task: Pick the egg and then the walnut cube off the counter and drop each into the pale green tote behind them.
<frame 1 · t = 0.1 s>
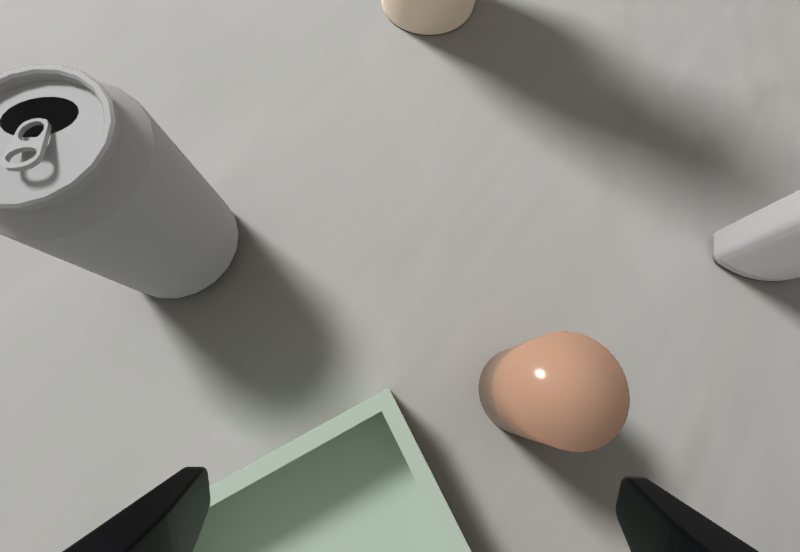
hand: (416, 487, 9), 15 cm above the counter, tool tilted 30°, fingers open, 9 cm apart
water bottle: (434, 5, 33), on the counter
can: (187, 247, 26), on the counter
eye dropper bottle: (747, 257, 27), on the counter
egg: (520, 390, 24), on the counter
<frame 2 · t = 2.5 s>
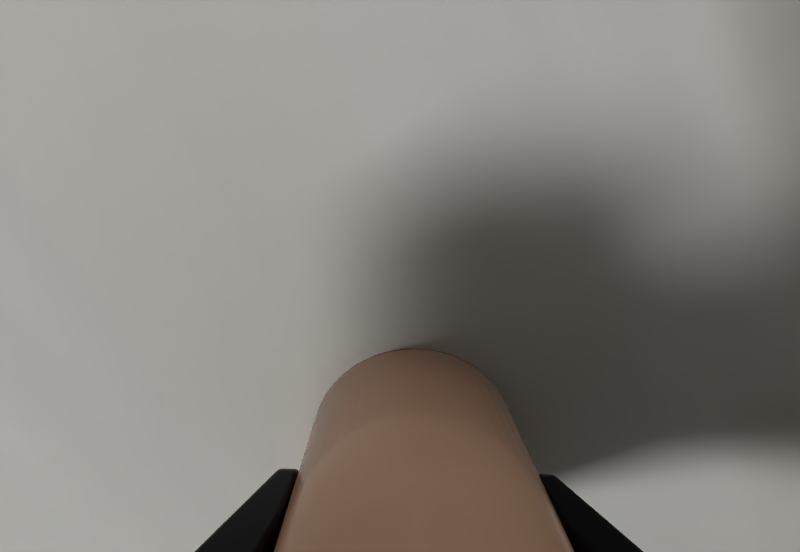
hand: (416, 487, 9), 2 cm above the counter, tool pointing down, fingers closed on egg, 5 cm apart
egg: (412, 439, 10), on the counter, touching gripper
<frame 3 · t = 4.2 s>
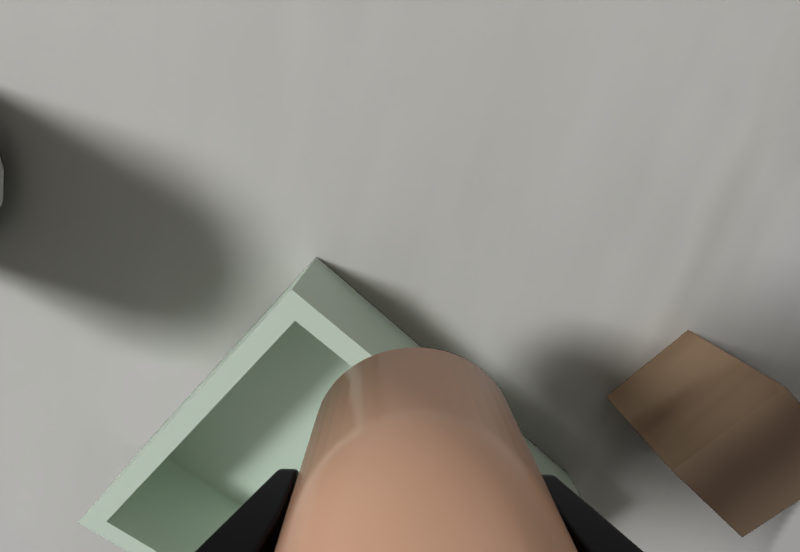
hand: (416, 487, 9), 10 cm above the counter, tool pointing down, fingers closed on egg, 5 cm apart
walnut cube: (674, 393, 20), on the counter
tote: (361, 460, 21), on the counter
egg: (413, 437, 10), point 9 cm above the counter, touching gripper
when the fingers open (5 cm above the counter, at t = 6.0 s): egg drops 3 cm, resting on tote.
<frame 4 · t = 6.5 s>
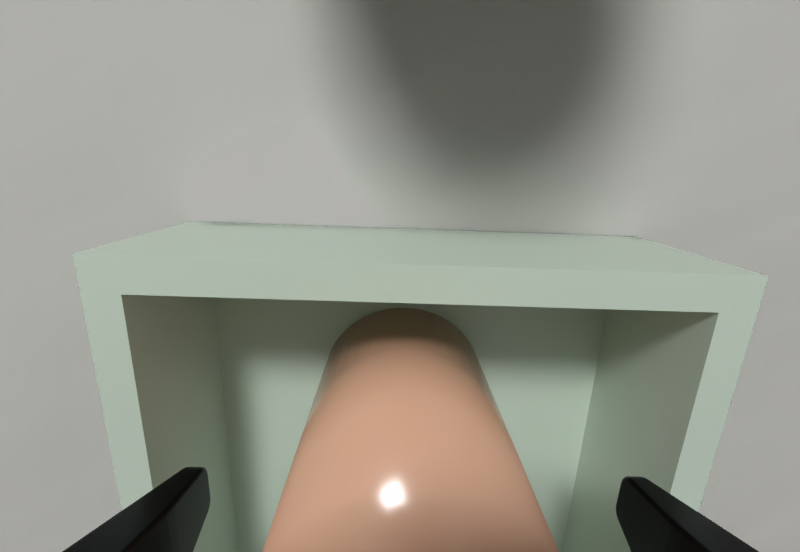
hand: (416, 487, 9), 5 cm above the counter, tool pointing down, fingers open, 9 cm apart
tote: (404, 468, 14), on the counter
egg: (402, 380, 13), point 1 cm above the counter, touching tote
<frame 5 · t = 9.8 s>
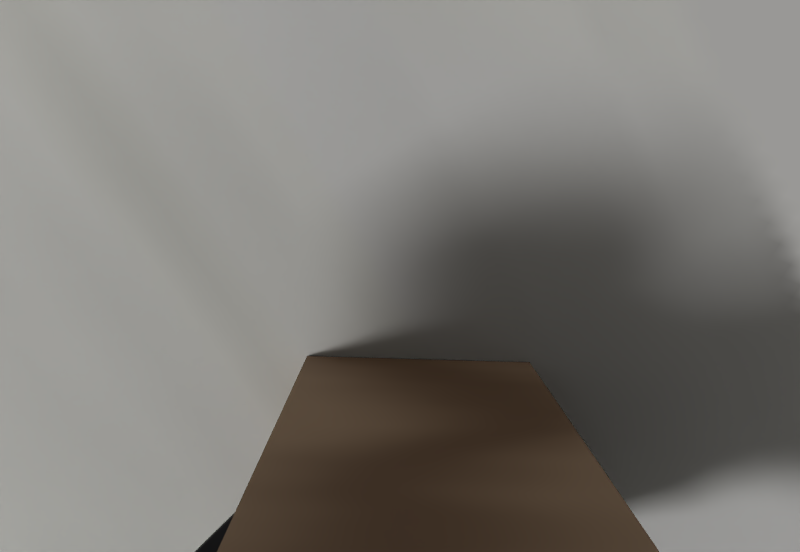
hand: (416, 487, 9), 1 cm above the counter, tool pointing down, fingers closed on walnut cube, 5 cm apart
walnut cube: (413, 453, 10), on the counter, touching gripper
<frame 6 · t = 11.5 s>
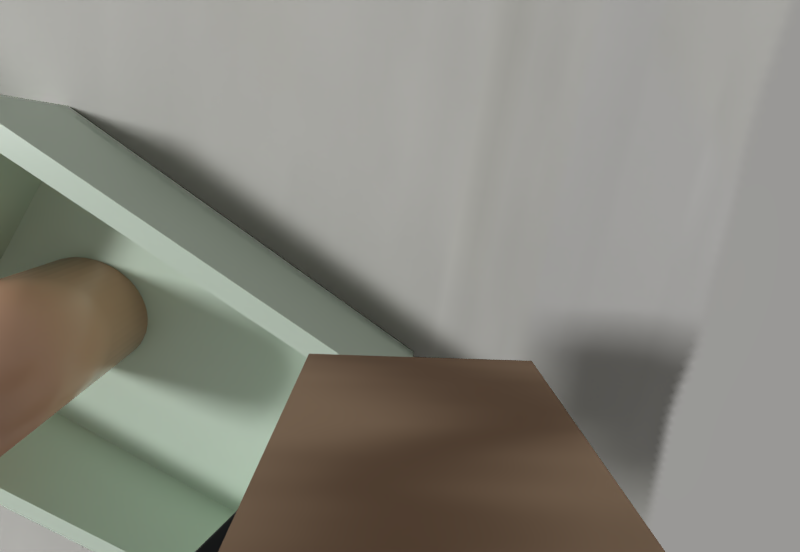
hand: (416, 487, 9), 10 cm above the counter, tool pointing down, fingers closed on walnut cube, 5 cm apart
walnut cube: (415, 451, 10), point 9 cm above the counter, touching gripper
tote: (179, 351, 19), on the counter
egg: (88, 311, 17), point 1 cm above the counter, touching tote
when the fingers open (5 cm above the counter, at t = 13.3 s): walnut cube drops 3 cm, resting on tote.
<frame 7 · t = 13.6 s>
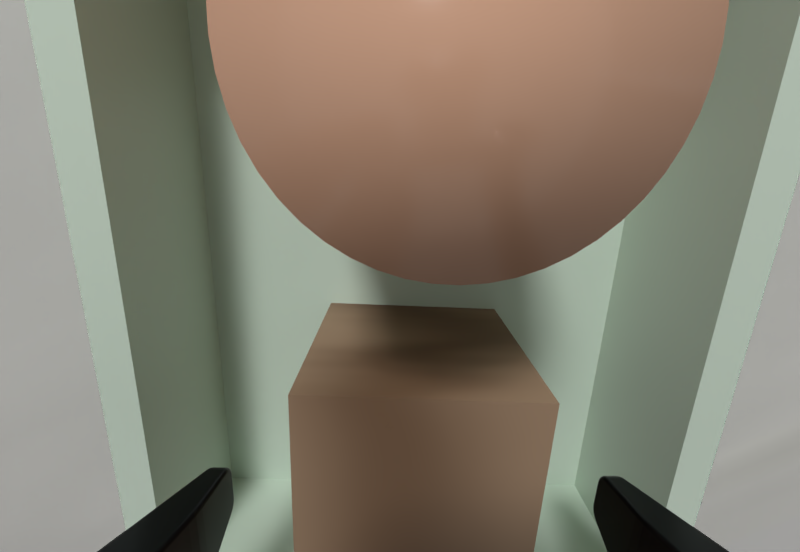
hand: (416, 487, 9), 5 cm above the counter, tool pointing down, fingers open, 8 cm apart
walnut cube: (409, 378, 13), point 1 cm above the counter, touching tote
tote: (414, 254, 12), on the counter
egg: (414, 114, 10), point 1 cm above the counter, touching tote
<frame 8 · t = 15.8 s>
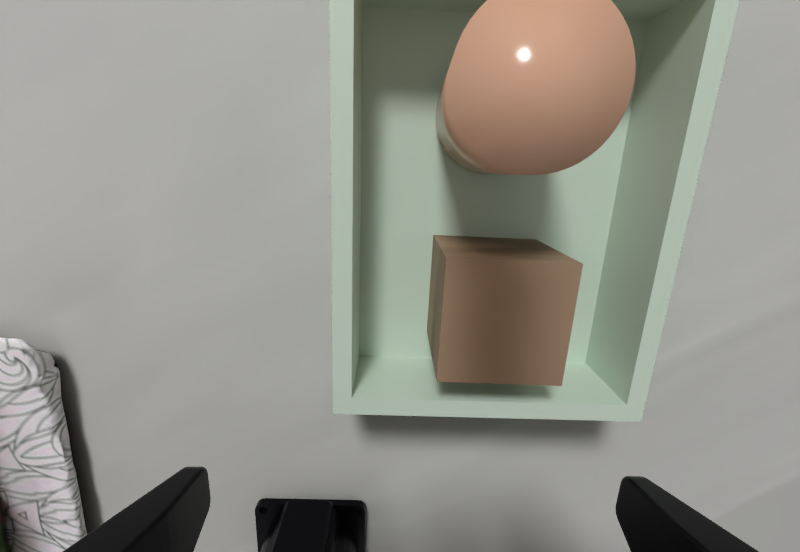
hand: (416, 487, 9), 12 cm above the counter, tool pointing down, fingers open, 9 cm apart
walnut cube: (479, 286, 20), point 1 cm above the counter, touching tote
tote: (484, 205, 19), on the counter
egg: (491, 116, 18), point 1 cm above the counter, touching tote
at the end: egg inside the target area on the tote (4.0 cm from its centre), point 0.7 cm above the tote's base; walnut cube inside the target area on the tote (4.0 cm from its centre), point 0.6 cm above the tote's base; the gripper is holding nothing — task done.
